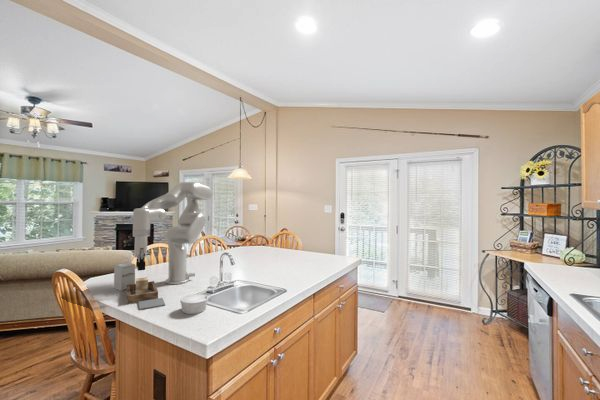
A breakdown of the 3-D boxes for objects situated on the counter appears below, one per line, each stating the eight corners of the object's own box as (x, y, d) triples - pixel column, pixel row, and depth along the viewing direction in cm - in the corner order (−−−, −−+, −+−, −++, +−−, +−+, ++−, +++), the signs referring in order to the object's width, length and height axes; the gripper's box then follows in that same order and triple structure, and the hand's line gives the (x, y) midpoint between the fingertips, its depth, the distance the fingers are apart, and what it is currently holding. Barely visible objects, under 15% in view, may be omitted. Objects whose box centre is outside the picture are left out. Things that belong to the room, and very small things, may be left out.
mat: (162, 298, 138) (162, 297, 138) (165, 305, 129) (165, 304, 129) (138, 302, 132) (138, 301, 132) (139, 310, 124) (139, 308, 124)
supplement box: (120, 290, 149) (120, 266, 149) (113, 288, 153) (113, 264, 153) (135, 287, 155) (135, 263, 155) (128, 284, 159) (128, 262, 159)
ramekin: (206, 314, 120) (206, 301, 120) (177, 316, 118) (177, 303, 118) (209, 304, 131) (209, 293, 131) (183, 306, 129) (183, 294, 129)
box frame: (153, 287, 155) (153, 281, 155) (158, 299, 137) (158, 291, 137) (126, 291, 148) (126, 284, 148) (127, 304, 131) (127, 296, 131)
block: (147, 293, 146) (147, 277, 146) (147, 295, 142) (147, 279, 142) (135, 294, 143) (135, 278, 143) (136, 297, 139) (136, 281, 139)
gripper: (132, 232, 148) (131, 265, 147) (133, 235, 133) (132, 272, 133) (148, 231, 152) (147, 264, 151) (151, 234, 137) (150, 270, 137)
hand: (140, 268), depth 142 cm, fingers open, 9 cm apart
